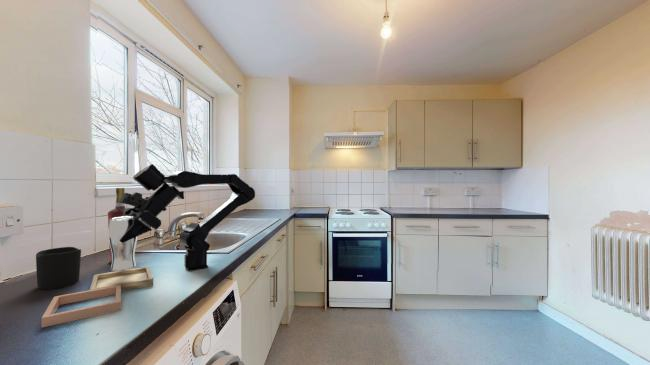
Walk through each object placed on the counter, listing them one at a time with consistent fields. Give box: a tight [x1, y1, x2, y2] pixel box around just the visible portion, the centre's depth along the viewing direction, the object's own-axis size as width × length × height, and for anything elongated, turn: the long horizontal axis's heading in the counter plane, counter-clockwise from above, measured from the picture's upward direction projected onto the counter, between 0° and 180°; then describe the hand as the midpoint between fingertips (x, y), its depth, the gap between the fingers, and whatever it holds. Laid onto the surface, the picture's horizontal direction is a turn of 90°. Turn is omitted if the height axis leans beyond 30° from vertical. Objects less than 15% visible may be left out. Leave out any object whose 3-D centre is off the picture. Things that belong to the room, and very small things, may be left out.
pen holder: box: [35, 246, 82, 291], centre depth 78 cm, size 9×9×10 cm
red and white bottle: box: [107, 187, 127, 264], centre depth 101 cm, size 7×7×28 cm
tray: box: [89, 266, 154, 292], centre depth 79 cm, size 14×14×2 cm
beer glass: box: [108, 217, 139, 272], centre depth 79 cm, size 7×7×15 cm
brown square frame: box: [41, 285, 122, 329], centre depth 64 cm, size 13×13×2 cm
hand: (117, 240), depth 78 cm, fingers closed on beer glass, 7 cm apart
